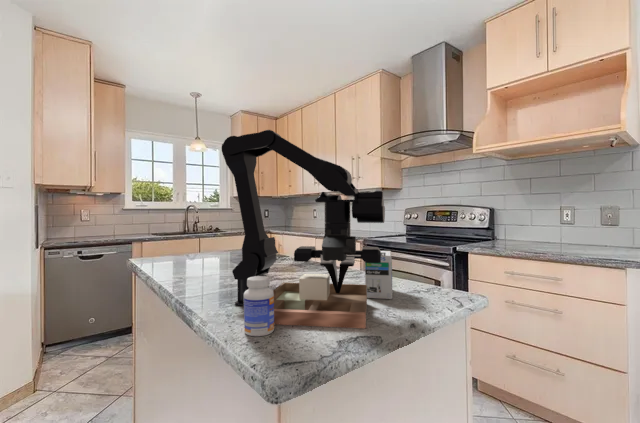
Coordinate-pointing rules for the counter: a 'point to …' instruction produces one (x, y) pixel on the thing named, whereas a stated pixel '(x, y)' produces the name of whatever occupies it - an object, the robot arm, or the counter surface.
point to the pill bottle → (258, 307)
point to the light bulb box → (379, 277)
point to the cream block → (314, 286)
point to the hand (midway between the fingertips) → (337, 293)
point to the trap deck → (321, 307)
